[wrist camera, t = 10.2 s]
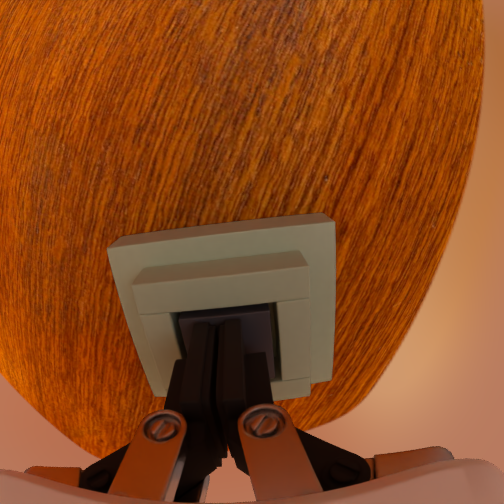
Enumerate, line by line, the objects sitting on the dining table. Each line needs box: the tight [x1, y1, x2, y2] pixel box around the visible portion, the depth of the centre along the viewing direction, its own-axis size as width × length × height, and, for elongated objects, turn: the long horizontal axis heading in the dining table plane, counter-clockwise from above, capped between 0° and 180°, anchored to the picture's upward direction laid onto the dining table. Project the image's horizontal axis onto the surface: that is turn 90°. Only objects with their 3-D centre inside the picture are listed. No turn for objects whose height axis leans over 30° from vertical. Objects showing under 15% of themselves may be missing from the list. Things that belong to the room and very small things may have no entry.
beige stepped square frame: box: [107, 213, 336, 401], centre depth 12 cm, size 9×8×4 cm
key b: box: [179, 303, 275, 379], centre depth 11 cm, size 3×3×2 cm
